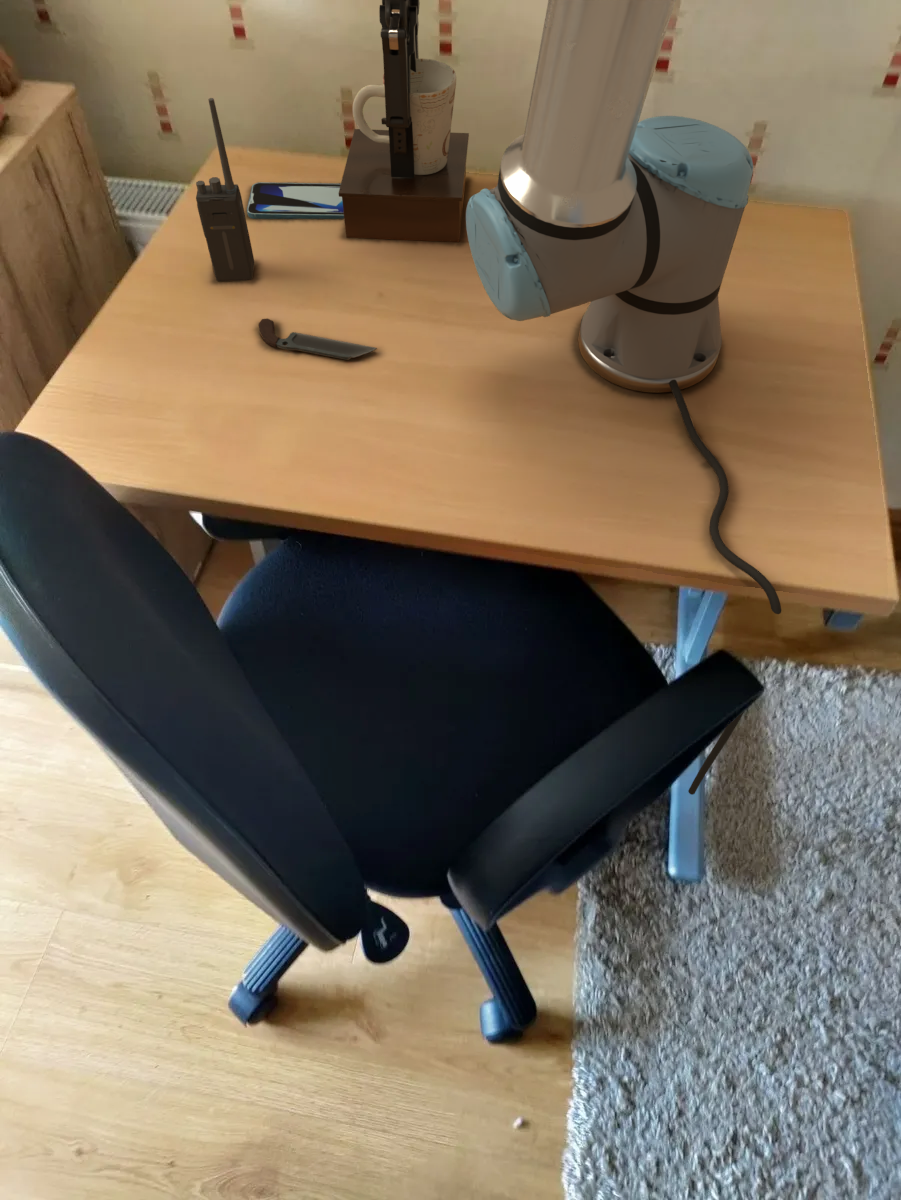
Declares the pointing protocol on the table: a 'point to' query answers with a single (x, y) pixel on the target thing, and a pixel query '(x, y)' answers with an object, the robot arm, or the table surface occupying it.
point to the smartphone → (295, 201)
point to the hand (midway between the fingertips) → (405, 158)
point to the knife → (312, 343)
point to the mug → (420, 113)
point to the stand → (402, 194)
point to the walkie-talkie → (225, 219)
